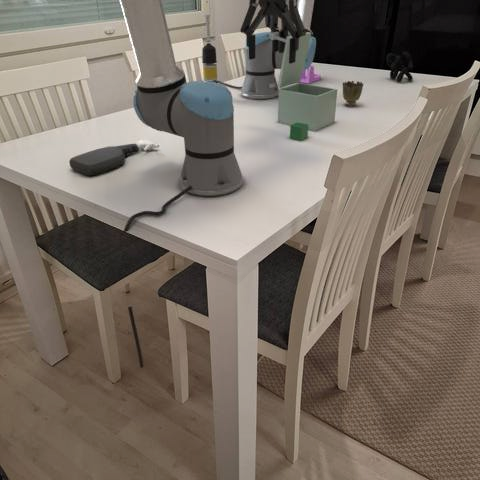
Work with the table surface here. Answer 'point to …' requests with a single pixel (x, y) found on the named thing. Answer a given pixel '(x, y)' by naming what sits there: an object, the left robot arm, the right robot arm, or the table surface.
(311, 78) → the bracket
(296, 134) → the block
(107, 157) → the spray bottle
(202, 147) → the left robot arm
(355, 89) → the cup
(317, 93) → the chest
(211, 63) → the filter
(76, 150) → the table surface
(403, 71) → the squiggle
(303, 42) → the lid
